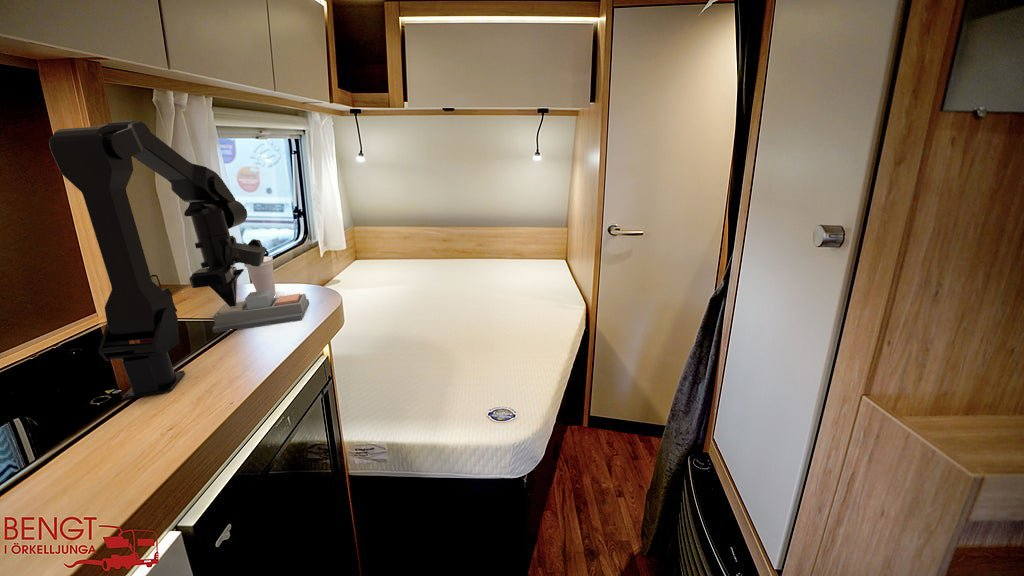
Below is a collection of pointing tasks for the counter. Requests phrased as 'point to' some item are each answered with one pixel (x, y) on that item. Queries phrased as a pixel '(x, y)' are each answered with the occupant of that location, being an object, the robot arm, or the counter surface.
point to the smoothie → (262, 275)
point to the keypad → (260, 316)
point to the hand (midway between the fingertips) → (233, 305)
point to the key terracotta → (288, 299)
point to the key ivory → (233, 307)
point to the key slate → (259, 299)
